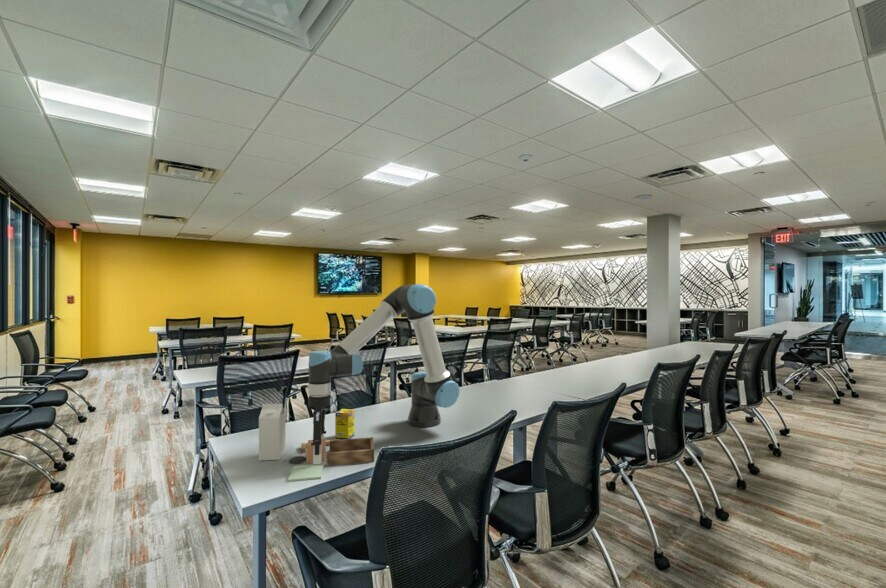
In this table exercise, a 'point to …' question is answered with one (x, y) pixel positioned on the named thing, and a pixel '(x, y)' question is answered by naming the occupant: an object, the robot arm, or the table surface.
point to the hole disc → (297, 460)
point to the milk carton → (271, 432)
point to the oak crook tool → (303, 445)
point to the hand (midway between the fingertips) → (318, 458)
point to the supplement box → (344, 424)
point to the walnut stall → (346, 453)
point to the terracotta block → (310, 451)
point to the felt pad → (306, 472)
